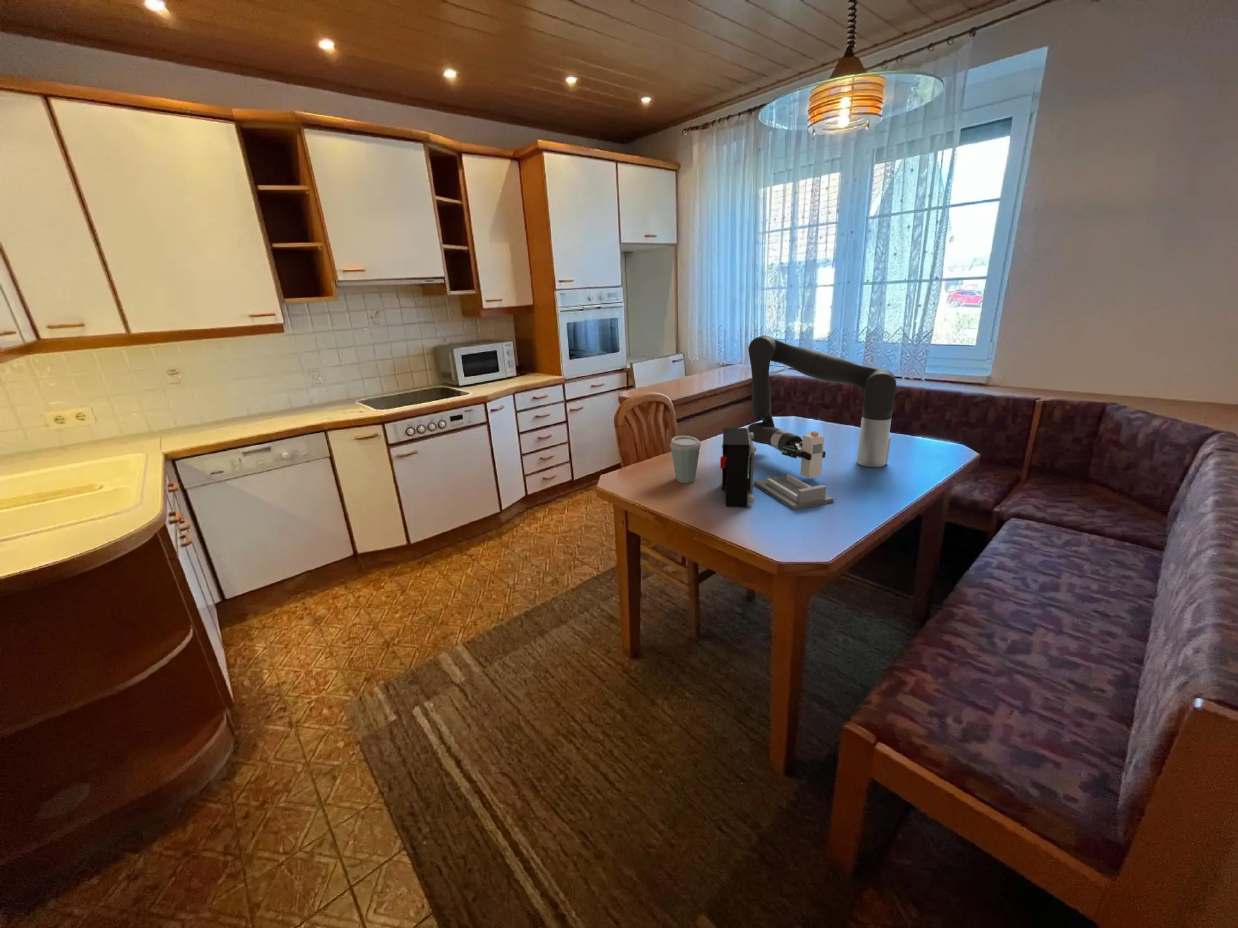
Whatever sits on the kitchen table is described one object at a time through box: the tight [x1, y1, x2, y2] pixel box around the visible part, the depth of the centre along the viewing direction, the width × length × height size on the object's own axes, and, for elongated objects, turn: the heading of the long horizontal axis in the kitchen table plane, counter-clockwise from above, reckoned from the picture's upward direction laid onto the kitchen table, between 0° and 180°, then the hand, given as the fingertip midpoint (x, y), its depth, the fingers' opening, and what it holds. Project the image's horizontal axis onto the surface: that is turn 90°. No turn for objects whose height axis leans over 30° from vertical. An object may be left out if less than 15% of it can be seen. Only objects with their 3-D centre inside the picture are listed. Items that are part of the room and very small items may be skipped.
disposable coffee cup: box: [669, 435, 701, 484], centre depth 169 cm, size 11×11×15 cm
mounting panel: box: [753, 474, 835, 511], centre depth 156 cm, size 14×22×5 cm, turn 17°
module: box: [799, 431, 825, 479], centre depth 163 cm, size 5×5×15 cm
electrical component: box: [719, 427, 757, 509], centre depth 154 cm, size 18×10×20 cm, turn 168°
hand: (817, 456), depth 161 cm, fingers closed on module, 4 cm apart
